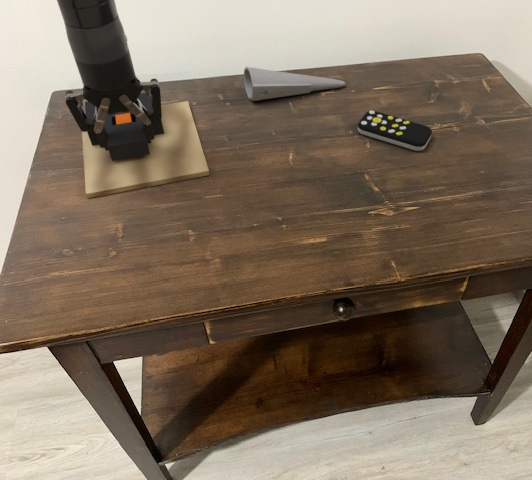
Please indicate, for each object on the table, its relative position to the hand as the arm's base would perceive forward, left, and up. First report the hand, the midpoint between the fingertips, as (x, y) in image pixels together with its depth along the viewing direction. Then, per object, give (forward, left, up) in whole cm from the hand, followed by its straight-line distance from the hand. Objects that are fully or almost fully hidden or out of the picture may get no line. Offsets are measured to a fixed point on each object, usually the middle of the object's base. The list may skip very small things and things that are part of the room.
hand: (128, 143), depth 88 cm
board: (+2, +2, -2) cm, 4 cm away
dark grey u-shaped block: (0, +8, -1) cm, 8 cm away
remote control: (+45, -7, -3) cm, 46 cm away
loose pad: (0, +1, -1) cm, 2 cm away
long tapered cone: (+32, +12, -3) cm, 35 cm away
